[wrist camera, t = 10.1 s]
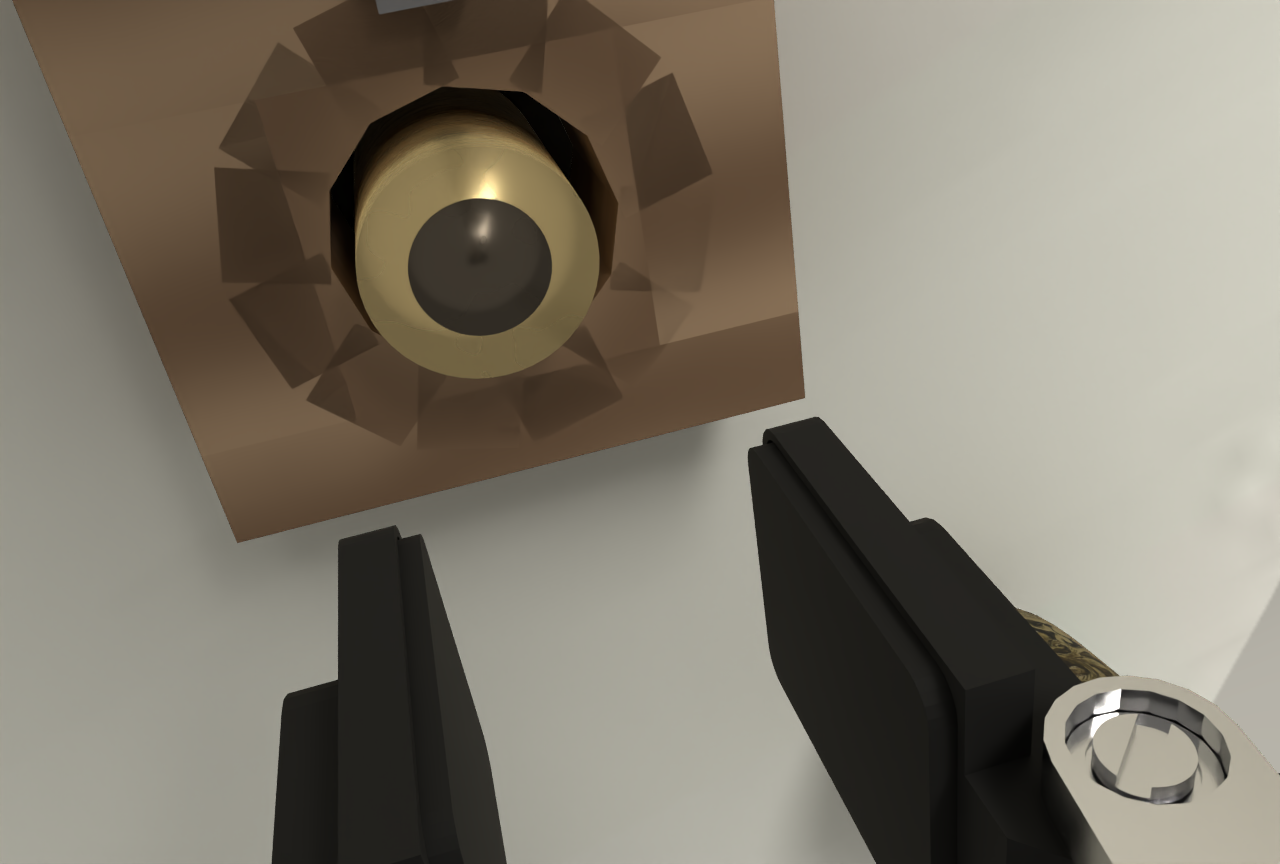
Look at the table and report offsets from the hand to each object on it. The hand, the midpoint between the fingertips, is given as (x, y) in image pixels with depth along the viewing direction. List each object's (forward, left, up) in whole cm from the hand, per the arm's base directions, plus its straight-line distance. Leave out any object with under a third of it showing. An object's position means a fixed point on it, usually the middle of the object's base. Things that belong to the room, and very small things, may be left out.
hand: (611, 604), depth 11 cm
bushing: (0, 0, -17) cm, 17 cm away
